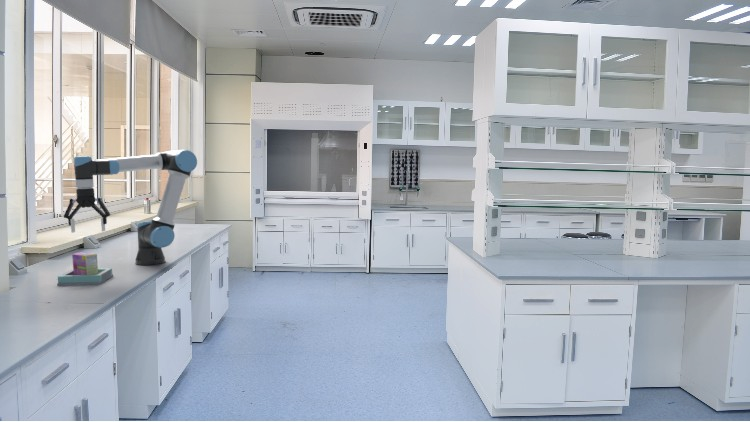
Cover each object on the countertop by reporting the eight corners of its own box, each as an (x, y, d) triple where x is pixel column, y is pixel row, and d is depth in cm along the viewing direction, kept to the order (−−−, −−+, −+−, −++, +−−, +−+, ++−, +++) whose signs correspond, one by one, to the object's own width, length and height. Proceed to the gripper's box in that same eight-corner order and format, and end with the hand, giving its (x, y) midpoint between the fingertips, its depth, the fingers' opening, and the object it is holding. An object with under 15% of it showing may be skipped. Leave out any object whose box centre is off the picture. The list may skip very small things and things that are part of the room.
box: (73, 278, 248) (71, 253, 247) (84, 276, 253) (83, 251, 252) (87, 280, 243) (85, 255, 242) (98, 278, 248) (97, 253, 247)
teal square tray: (113, 275, 258) (112, 267, 258) (99, 284, 240) (98, 275, 240) (73, 276, 255) (73, 268, 255) (57, 285, 238) (56, 277, 237)
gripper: (115, 186, 259) (118, 229, 262) (59, 188, 254) (63, 231, 257) (110, 187, 252) (113, 231, 254) (53, 189, 247) (57, 233, 250)
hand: (88, 231), depth 256 cm, fingers open, 13 cm apart
